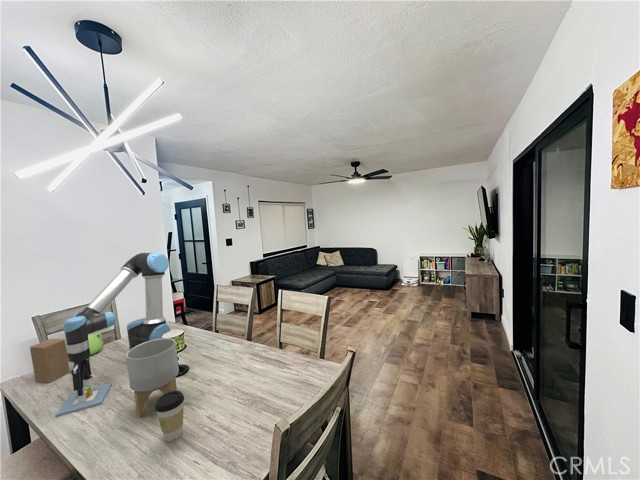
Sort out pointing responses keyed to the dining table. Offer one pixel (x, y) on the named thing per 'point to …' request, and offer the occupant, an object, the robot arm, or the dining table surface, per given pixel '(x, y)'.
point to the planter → (152, 369)
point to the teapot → (94, 343)
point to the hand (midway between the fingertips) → (85, 396)
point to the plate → (91, 401)
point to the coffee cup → (170, 414)
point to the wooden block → (49, 360)
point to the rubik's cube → (87, 392)
